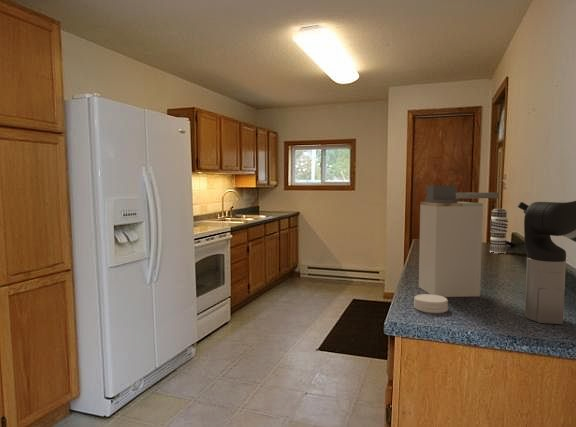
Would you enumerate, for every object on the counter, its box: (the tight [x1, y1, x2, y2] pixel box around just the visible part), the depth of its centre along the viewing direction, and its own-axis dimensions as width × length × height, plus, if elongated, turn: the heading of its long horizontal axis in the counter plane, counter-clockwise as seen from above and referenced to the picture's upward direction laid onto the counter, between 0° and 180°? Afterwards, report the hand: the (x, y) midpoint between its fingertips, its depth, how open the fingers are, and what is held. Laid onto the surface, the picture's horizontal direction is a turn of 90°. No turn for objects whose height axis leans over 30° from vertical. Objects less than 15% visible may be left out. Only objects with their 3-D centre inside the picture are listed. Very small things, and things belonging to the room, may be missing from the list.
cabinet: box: [418, 198, 484, 298], centre depth 141 cm, size 16×14×33 cm
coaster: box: [413, 293, 449, 314], centre depth 122 cm, size 10×10×4 cm
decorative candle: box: [489, 208, 509, 254], centre depth 225 cm, size 9×9×25 cm
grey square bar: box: [425, 185, 500, 203], centre depth 140 cm, size 24×6×6 cm, turn 93°
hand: (527, 204), depth 142 cm, fingers open, 8 cm apart
